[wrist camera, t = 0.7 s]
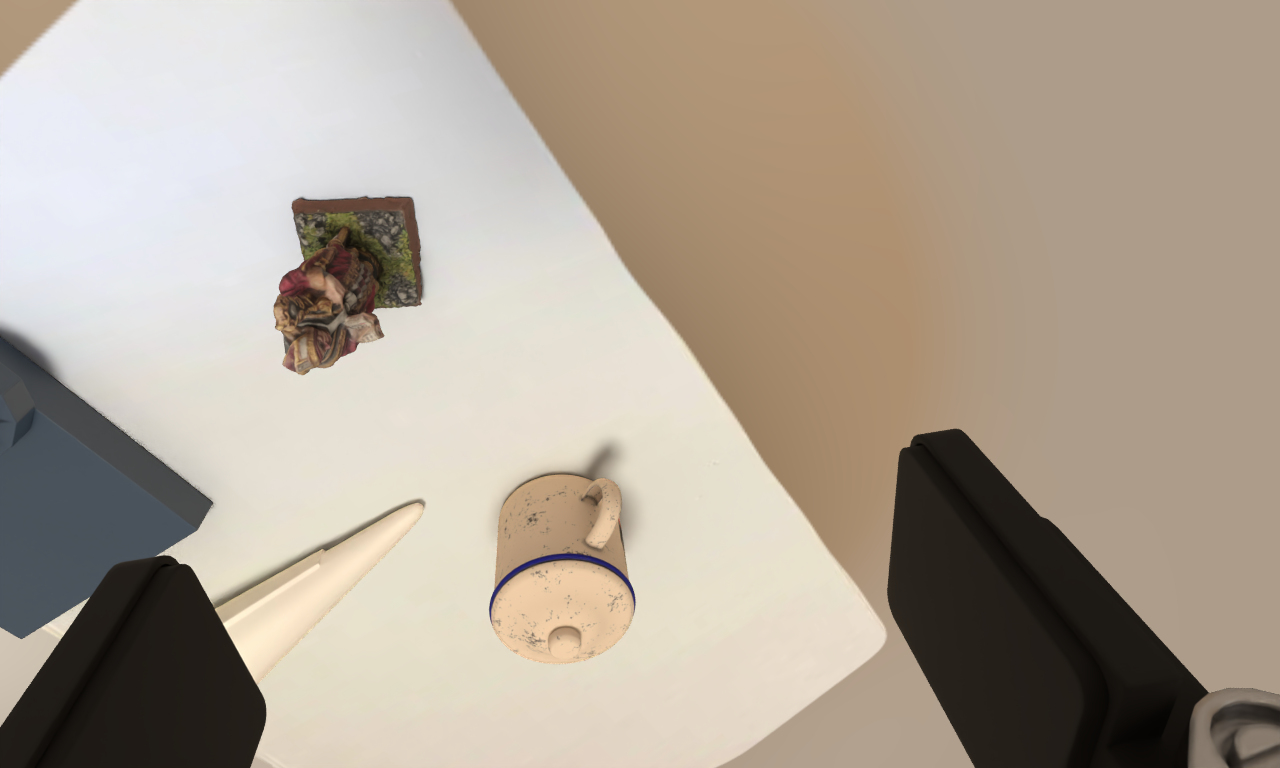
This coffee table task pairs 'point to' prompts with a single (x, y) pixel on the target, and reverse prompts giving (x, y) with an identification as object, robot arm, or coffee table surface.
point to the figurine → (346, 276)
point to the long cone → (306, 593)
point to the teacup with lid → (561, 570)
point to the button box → (73, 498)
